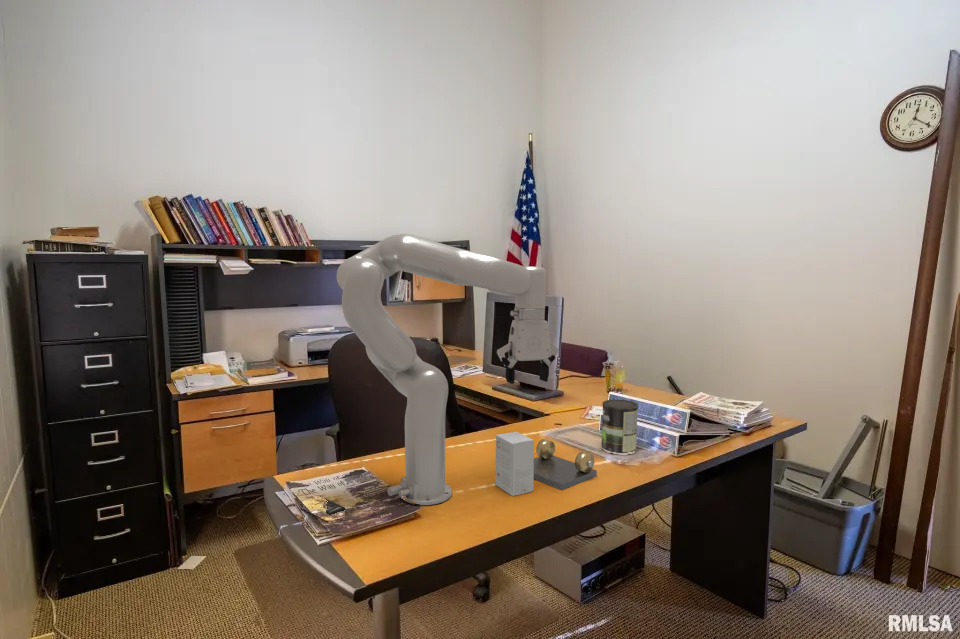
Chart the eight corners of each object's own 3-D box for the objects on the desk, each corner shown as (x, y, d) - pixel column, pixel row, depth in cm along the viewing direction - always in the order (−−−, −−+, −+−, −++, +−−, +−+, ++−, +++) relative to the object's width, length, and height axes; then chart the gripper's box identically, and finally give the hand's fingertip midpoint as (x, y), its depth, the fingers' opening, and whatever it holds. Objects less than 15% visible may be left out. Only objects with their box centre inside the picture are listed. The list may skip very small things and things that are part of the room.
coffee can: (604, 455, 165) (605, 407, 163) (598, 443, 175) (599, 399, 173) (640, 456, 164) (642, 408, 163) (632, 444, 174) (633, 399, 173)
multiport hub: (317, 503, 132) (317, 494, 132) (346, 517, 125) (346, 507, 125) (300, 510, 128) (300, 500, 128) (329, 524, 121) (329, 514, 121)
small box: (534, 491, 139) (534, 439, 137) (512, 496, 135) (512, 443, 134) (515, 480, 146) (516, 430, 144) (494, 485, 142) (495, 434, 141)
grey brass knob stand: (563, 490, 139) (563, 465, 138) (511, 470, 152) (511, 446, 152) (598, 476, 148) (599, 452, 148) (546, 458, 162) (547, 436, 161)
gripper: (505, 316, 137) (503, 386, 139) (566, 316, 144) (563, 382, 146) (492, 314, 144) (490, 380, 145) (551, 313, 151) (548, 377, 153)
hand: (527, 381), depth 146 cm, fingers open, 9 cm apart
